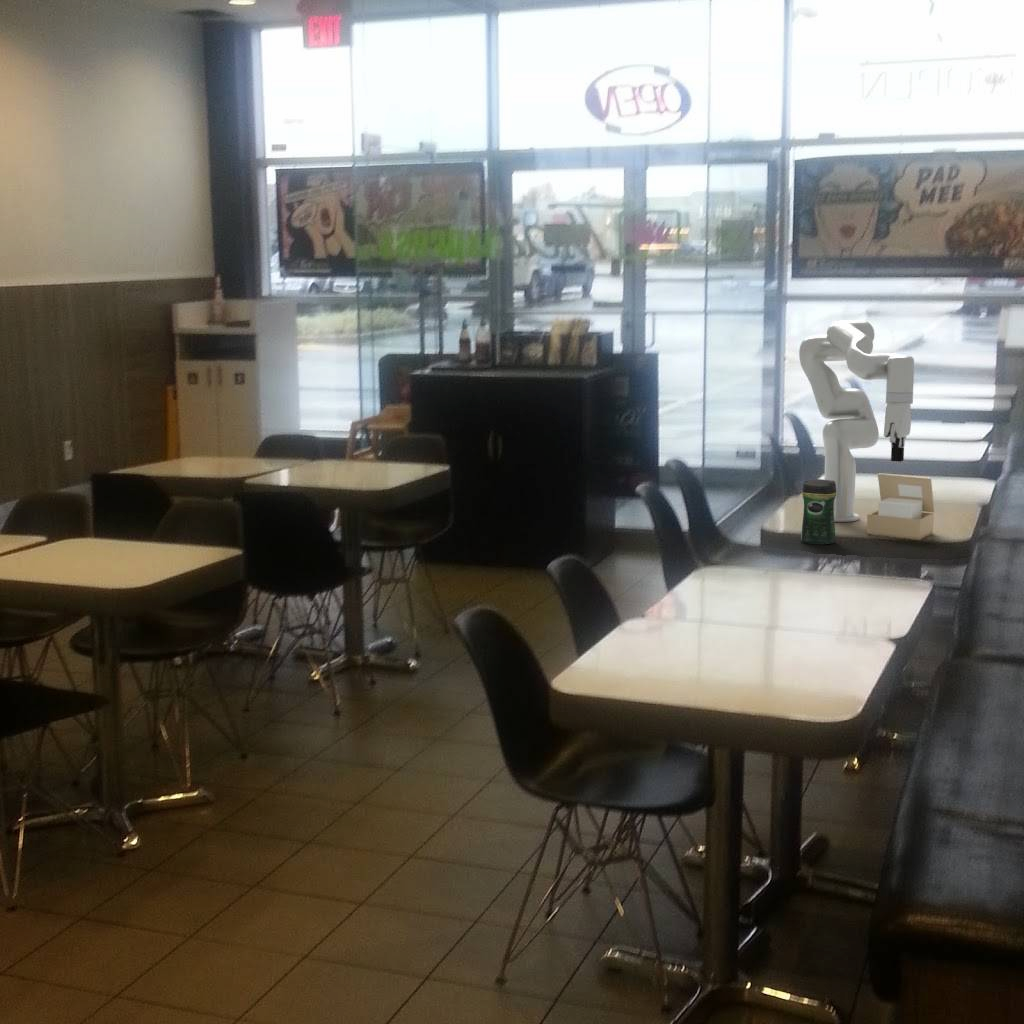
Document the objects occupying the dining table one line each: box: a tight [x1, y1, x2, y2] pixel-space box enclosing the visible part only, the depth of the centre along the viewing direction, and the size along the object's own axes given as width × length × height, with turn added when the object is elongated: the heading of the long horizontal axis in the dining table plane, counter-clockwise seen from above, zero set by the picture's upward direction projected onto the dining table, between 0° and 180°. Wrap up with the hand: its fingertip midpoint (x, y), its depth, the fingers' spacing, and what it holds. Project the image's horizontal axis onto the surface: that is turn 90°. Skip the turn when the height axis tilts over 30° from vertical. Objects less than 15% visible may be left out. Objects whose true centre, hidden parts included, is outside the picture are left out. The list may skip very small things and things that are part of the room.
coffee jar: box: [800, 478, 837, 545], centre depth 388 cm, size 10×8×19 cm
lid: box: [877, 472, 935, 513], centre depth 401 cm, size 16×12×1 cm
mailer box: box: [866, 497, 935, 541], centre depth 399 cm, size 16×12×10 cm
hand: (897, 460), depth 390 cm, fingers closed
